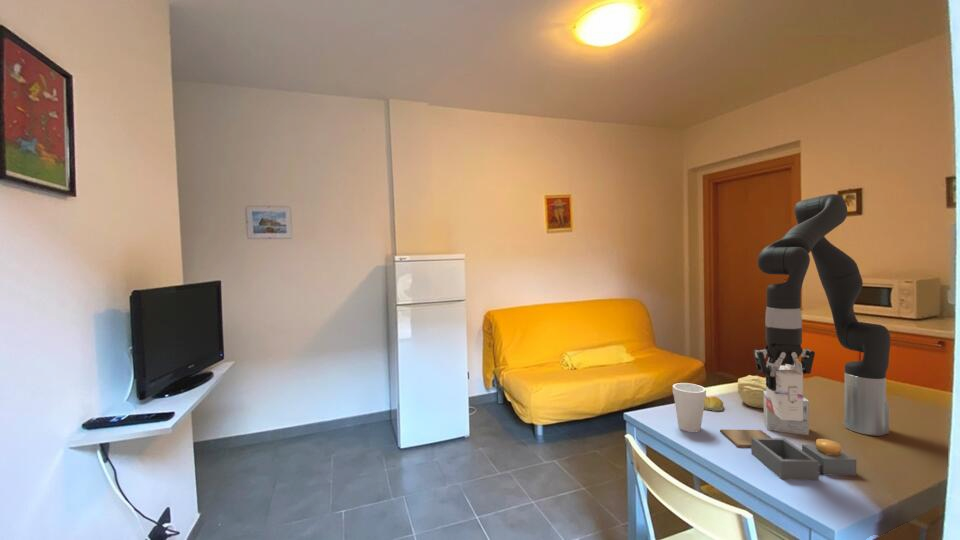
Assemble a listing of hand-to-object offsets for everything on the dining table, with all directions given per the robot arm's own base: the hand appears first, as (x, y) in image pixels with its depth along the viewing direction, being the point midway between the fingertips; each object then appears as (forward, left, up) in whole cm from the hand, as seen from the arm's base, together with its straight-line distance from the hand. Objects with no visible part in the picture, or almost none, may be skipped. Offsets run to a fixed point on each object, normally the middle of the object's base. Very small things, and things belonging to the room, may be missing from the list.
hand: (783, 389), depth 104 cm
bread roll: (0, -41, -21) cm, 46 cm away
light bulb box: (-15, -23, -21) cm, 34 cm away
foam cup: (+14, -23, -21) cm, 34 cm away
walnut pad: (0, -15, -20) cm, 25 cm away
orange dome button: (-11, 0, -20) cm, 22 cm away
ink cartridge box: (0, 0, -7) cm, 7 cm away
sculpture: (-18, -43, -21) cm, 51 cm away
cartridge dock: (-5, 0, -20) cm, 21 cm away
